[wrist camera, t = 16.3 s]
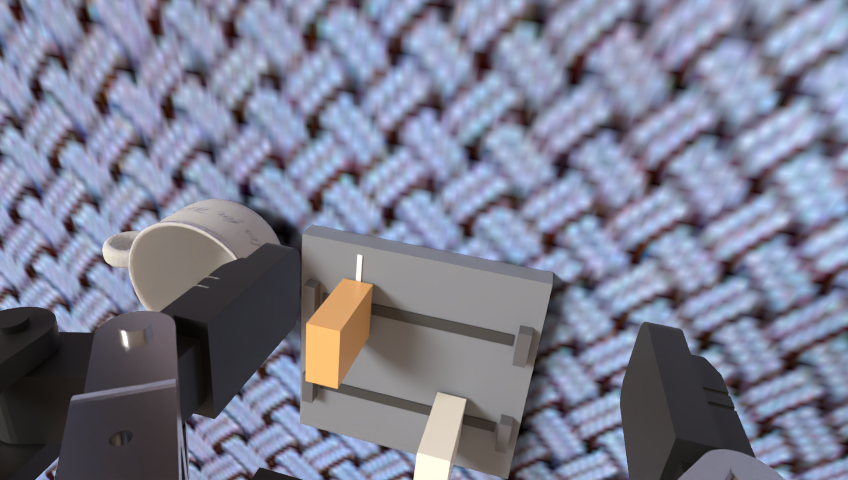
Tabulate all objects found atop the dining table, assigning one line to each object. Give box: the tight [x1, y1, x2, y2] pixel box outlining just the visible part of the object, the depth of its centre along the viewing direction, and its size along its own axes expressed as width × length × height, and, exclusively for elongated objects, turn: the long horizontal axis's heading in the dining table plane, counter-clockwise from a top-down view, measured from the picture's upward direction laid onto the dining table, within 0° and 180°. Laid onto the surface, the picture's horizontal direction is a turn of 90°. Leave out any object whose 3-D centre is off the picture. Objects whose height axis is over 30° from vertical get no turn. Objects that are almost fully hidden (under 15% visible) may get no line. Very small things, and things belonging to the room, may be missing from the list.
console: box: [300, 225, 553, 479], centre depth 46 cm, size 20×20×3 cm
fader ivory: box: [414, 392, 466, 480], centre depth 44 cm, size 2×5×7 cm, turn 173°
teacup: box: [102, 199, 281, 312], centre depth 45 cm, size 14×11×8 cm
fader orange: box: [305, 278, 373, 389], centre depth 42 cm, size 2×5×7 cm, turn 173°
